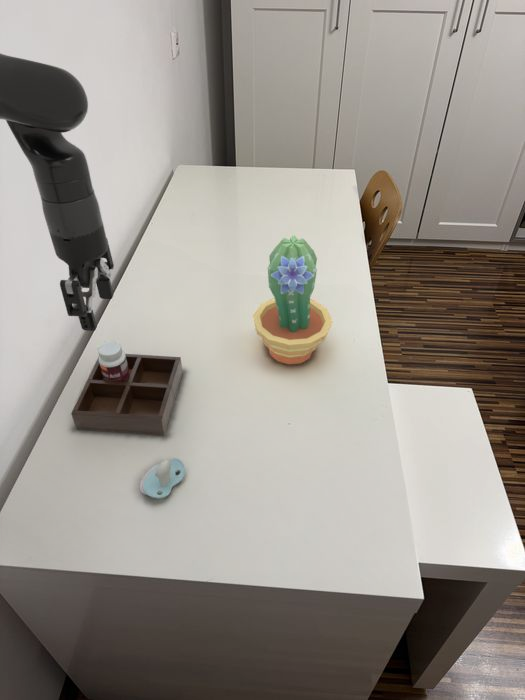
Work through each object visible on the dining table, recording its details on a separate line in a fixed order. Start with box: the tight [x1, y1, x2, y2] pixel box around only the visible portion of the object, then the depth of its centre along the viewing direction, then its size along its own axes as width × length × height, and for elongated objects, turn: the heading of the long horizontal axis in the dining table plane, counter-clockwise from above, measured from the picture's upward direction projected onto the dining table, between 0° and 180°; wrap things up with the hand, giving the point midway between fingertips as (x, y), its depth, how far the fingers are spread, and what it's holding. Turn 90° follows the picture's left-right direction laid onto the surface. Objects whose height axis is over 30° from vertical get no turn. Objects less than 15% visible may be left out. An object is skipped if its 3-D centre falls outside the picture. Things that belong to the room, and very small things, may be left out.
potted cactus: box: [252, 235, 333, 365], centre depth 93 cm, size 16×15×25 cm
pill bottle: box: [97, 340, 130, 382], centre depth 91 cm, size 5×5×8 cm
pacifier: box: [138, 458, 186, 500], centre depth 76 cm, size 7×6×6 cm
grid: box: [70, 353, 184, 436], centre depth 90 cm, size 15×15×4 cm
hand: (98, 313), depth 82 cm, fingers open, 8 cm apart
